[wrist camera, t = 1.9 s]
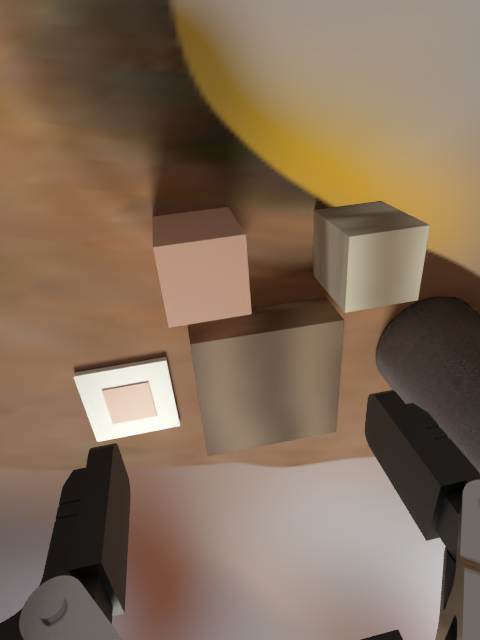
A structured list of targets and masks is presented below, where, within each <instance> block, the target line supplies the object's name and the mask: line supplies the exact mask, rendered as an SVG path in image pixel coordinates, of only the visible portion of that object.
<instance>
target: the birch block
mask: <svg viewBox="0 0 480 640" xmlns="http://www.w3.org/2000/svg"><path fill="white" fill-rule="evenodd" d="M429 229H430V225H429V224H426V223H425V222H423V221H420V220H418V219H416V218H414V217H412V216H410V215H408V214H406V213H404V212H402V211H400V210H398V209H396V208H394V207H392V206H390V205H388V204H386V203H384V202H382V201H377V202H369V203H362V204H354V205H347V206H339V207H334V208H326V209H319V210H314V245H313V276H314V277H315V278H316V280H317V281H318V282H319V283H320V284H321V285H322V287H323V288H324V289H325V290H326V291H327V292H328V294H329V295H330V296H331V297H332V298H333V299H334V301H335V302H336V303H337V304H338V305H339V306H340V308H341V309H342V310H343V311H344V312H345V313H346V312H352V311H358V310H364V309H370V308H376V307H382V306H388V305H393V304H399V303H405V302H411V301H417V300H418V297H419V290H420V284H421V278H422V272H423V266H424V260H425V253H426V247H427V241H428V235H429Z"/></svg>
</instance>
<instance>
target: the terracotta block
mask: <svg viewBox="0 0 480 640" xmlns="http://www.w3.org/2000/svg"><path fill="white" fill-rule="evenodd" d="M153 250H154V255H155V260H156V265H157V270H158V275H159V280H160V285H161V291H162V296H163V301H164V306H165V311H166V316H167V321H168V326H169V328H171V327H177V326H183V325H189V324H195V323H201V322H207V321H213V320H219V319H226V318H232V317H238V316H244V315H250V314H252V312H251V298H250V285H249V271H248V258H247V244H246V234H245V232H244V231H243V229H242V228H241V226H240V225H239V223H238V222H237V220H236V218H235V217H234V215H233V214H232V212H231V211H230V209H229V208H228V207H223V208H215V209H207V210H200V211H192V212H184V213H177V214H169V215H161V216H154V217H153Z"/></svg>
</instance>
